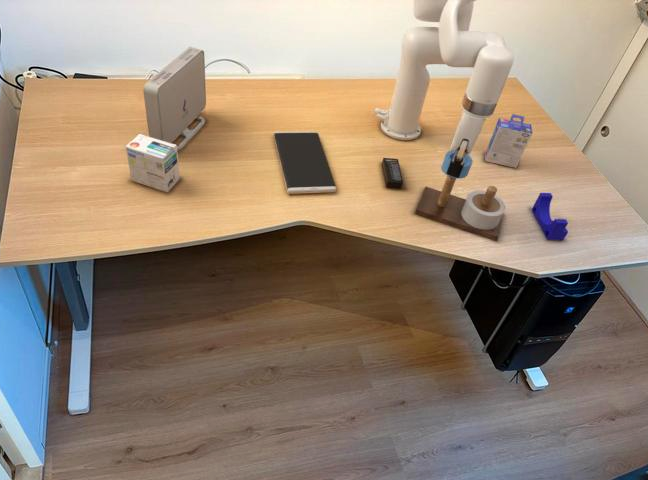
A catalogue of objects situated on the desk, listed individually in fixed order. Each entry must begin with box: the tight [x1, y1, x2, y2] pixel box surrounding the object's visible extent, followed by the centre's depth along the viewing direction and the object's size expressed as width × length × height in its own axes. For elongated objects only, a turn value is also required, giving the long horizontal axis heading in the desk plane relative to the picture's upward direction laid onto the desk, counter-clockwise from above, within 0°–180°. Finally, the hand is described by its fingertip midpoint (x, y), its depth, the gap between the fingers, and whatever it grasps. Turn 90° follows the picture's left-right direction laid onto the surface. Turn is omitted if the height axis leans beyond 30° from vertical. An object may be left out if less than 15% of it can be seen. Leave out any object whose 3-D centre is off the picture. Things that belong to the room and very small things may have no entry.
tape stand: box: [414, 175, 506, 241], centre depth 142 cm, size 22×11×11 cm, turn 69°
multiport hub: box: [381, 157, 404, 190], centre depth 154 cm, size 4×11×2 cm, turn 2°
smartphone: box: [273, 131, 337, 195], centre depth 153 cm, size 13×27×2 cm, turn 11°
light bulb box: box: [125, 133, 181, 193], centre depth 138 cm, size 11×7×11 cm, turn 71°
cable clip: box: [531, 192, 569, 241], centre depth 146 cm, size 12×4×6 cm, turn 5°
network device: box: [142, 46, 207, 151], centre depth 150 cm, size 26×9×20 cm, turn 161°
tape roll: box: [440, 150, 474, 180], centre depth 136 cm, size 7×7×4 cm
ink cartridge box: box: [484, 113, 533, 169], centre depth 161 cm, size 10×6×14 cm, turn 78°
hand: (455, 167), depth 137 cm, fingers closed on tape roll, 6 cm apart
